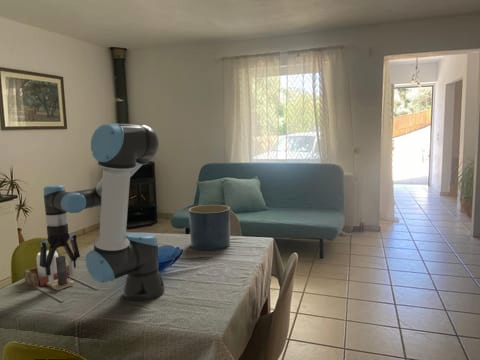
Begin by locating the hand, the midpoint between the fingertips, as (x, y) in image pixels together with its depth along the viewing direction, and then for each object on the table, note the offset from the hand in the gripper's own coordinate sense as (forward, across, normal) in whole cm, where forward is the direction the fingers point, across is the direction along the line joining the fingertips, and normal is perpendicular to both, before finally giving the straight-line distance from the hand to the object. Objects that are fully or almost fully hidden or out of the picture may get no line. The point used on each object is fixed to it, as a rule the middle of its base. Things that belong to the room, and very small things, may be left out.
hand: (62, 278), depth 148 cm
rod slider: (+3, 0, -3) cm, 4 cm away
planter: (+3, -76, +10) cm, 77 cm away
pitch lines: (+3, 0, +3) cm, 4 cm away
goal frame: (+3, 0, -14) cm, 14 cm away
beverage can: (+3, 0, -12) cm, 12 cm away
